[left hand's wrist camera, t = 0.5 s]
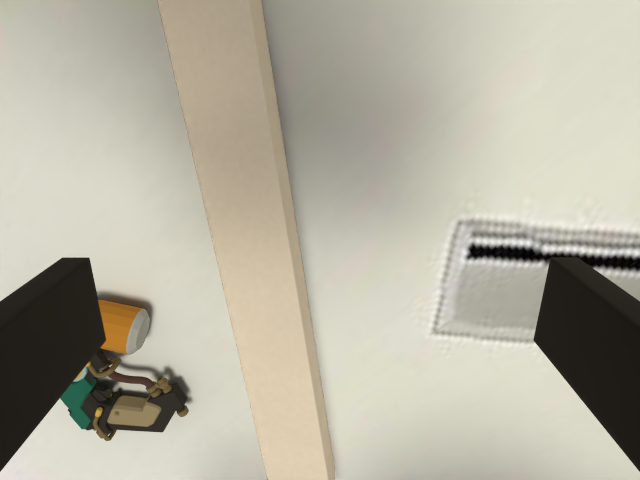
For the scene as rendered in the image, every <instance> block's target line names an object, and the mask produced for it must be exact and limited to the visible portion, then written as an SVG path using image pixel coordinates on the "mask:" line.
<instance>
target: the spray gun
mask: <svg viewBox="0 0 640 480" xmlns="http://www.w3.org/2000/svg"><path fill="white" fill-rule="evenodd" d="M98 302H99V307H100V312H101V316H102V321H103V326H104V331H105V336H106V341H105V343H104V344H103V345H102V346H101V349H106V350H110V351H114V352H118V353H123V354H127V355H129V354H133V353H134V352H135V351H137V350H138V349H140V348H141V347H142V345H143V343H144V341H145V338H146V336H147V332H148V329H149V324H150V317H149V315H148V313H147V311H146V310H145V309H143V308H138V307H133V306H129V305H124V304H119V303H115V302H110V301H105V300H98ZM120 361H121V359H120V358H117V357H116V358H113V359H111V360H108V359H107V358H106V357H105V355H104V354H103V353H102V351H101V350H100V349H99V350H98V351H97V353H96V354H95V355H94V356H93V357H92V359H91V360H90V361H89V362H88V364H87V365H86V366H85V367H84V369H83V370H82V371H81V372H80V374H79V375H78V376H77V377H76V379H75V380H74V381H73V382H72V383H71V385H70V386H69V387H68V388H67V390H66V391H65V392H64V393H63V395H62V396H61V397H60V399H61V400H62V401H63V402H64V403H65V405H66V406H67V407H68V408H69V409H68V411H69V412H70V416H71V417H72V418H73V419H74V421H75V422H76V423H77V424H78V425H79V426H80V428H81V429H86V430H91V429H93V430H94V431H95V430H97V434H98V436H99V437H100V438H104V439H105V440H106V441H109V440H111V439H112V437H113V436H114V434H115V432H116V430H131V431H149V432H163V431H164V430H165V428H166V426H167V424H168V423H169V421H170V419H171V417H172V416H173V414H174V412H175V411H177V414H178V415H179V416H180V417H184V416H185V415H187V413H188V411H189V410H188V408H187V406H185V405H184V404H185V402H186V400H187V397H186V395H185V394H184V393H183V391H182V390H181V388H180V387H179V385H178V384H177V383H176V384H173V385H169V382H168V380H167V379H166V378H164V377H163V376H162V377H160V378H158V380H157V383H156V382H153V381H151V380H150V379H148V378H146V377H139V376H127V375H123V374H120V373H117V372H115V371H114V370H115V369H116V368H117V367H118V365H119V363H120ZM111 364H113V365H112V366H111V367H109V365H111ZM98 370H102V371H103V372H101V373H99V372H98ZM106 376H108V377H110V378H112V379H114V380H116V381H119V382H125V383H134V384H143V385H145V386H146V389H147V391H148V392H149V393H150V394H149V396H148V398H141V397H133V396H126V395H123V396H120V393H119V392H115V394H114V395H113V397H112V391H113V387H110V386H109V388H107V389H103V388H100V387H99V386H96V388H94V386H95V384H96V383H97V381H96V379H95V378H94V377H97V378H102V377H106ZM159 387H160V388H159ZM111 397H112V398H111ZM110 433H111V434H110ZM109 434H110V435H109ZM108 435H109V436H108Z"/></svg>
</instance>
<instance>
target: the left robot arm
mask: <svg viewBox="0 0 640 480" xmlns="http://www.w3.org/2000/svg"><path fill="white" fill-rule="evenodd" d="M105 341H106V336H105V331H104V326H103V321H102V316H101V312H100V307H99V302H98V297H97V292H96V288H95V283H94V278H93V273H92V268H91V264H90V259H89V258H61V259H60V260H58V261H57V262H56V263H54V264H53V265H51V266H50V267H48V268H47V269H46V270H44V271H43V272H41V273H40V274H39V275H37V276H36V277H34V278H33V279H31V280H30V281H29V282H27V283H26V284H24V285H23V286H22V287H20V288H19V289H17V290H16V291H14V292H13V293H12V294H10V295H9V296H7V297H6V298H5V299H3V300H2V301H0V471H1V470H2V469H3V468H4V466H5V465H6V464H7V463H8V461H9V460H10V459H11V458H12V456H13V455H14V454H15V453H16V452H17V450H18V449H19V448H20V447H21V445H22V444H23V443H24V442H25V440H26V439H27V438H28V437H29V435H30V434H31V433H32V432H33V430H34V429H35V428H36V427H37V426H38V424H39V423H40V422H41V421H42V419H43V418H44V417H45V416H46V414H47V413H48V412H49V411H50V409H51V408H52V407H53V406H54V404H55V403H56V402H57V401H58V400H59V398H60V397H61V396H62V395H63V393H64V392H65V391H66V390H67V388H68V387H69V386H70V385H71V383H72V382H73V381H74V380H75V379H76V377H77V376H78V375H79V374H80V372H81V371H82V370H83V369H84V367H85V366H86V365H87V364H88V362H89V361H90V360H91V359H92V357H93V356H94V355H95V354H96V353H97V351H98V350H99V349H100V348H101V346H102V345H103V344H104V343H105ZM534 341H535V343H536V344H537V345H538V346H539V348H540V349H541V350H542V351H543V353H544V354H545V355H546V356H547V357H548V359H549V360H550V361H551V362H552V364H553V365H554V366H555V367H556V369H557V370H558V371H559V372H560V374H561V375H562V376H563V377H564V379H565V380H566V381H567V382H568V383H569V385H570V386H571V387H572V388H573V390H574V391H575V392H576V393H577V395H578V396H579V397H580V398H581V400H582V401H583V402H584V403H585V404H586V406H587V407H588V408H589V409H590V411H591V412H592V413H593V414H594V416H595V417H596V418H597V419H598V421H599V422H600V423H601V424H602V426H603V427H604V428H605V429H606V430H607V432H608V433H609V434H610V435H611V437H612V438H613V439H614V440H615V442H616V443H617V444H618V445H619V447H620V448H621V449H622V450H623V452H624V453H625V454H626V455H627V456H628V458H629V459H630V460H631V461H632V463H633V464H634V465H635V466H636V468H637V469H638V470H639V471H640V301H638V300H637V299H635V298H634V297H633V296H631V295H630V294H628V293H627V292H626V291H624V290H623V289H621V288H620V287H618V286H617V285H616V284H614V283H613V282H611V281H610V280H609V279H607V278H606V277H604V276H603V275H601V274H600V273H599V272H597V271H596V270H594V269H593V268H592V267H590V266H589V265H587V264H586V263H584V262H583V261H582V260H580V259H579V258H551V259H550V264H549V268H548V273H547V278H546V283H545V288H544V292H543V297H542V302H541V307H540V312H539V316H538V321H537V326H536V331H535V336H534Z"/></svg>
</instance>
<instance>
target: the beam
mask: <svg viewBox="0 0 640 480" xmlns="http://www.w3.org/2000/svg"><path fill="white" fill-rule="evenodd" d="M157 2H158V6H159V11H160V15H161V19H162V24H163V28H164V32H165V37H166V41H167V45H168V50H169V54H170V58H171V63H172V67H173V71H174V76H175V80H176V84H177V89H178V93H179V97H180V102H181V106H182V110H183V115H184V119H185V124H186V128H187V132H188V137H189V141H190V145H191V150H192V154H193V158H194V163H195V167H196V171H197V176H198V180H199V184H200V189H201V193H202V197H203V202H204V206H205V210H206V215H207V219H208V223H209V228H210V232H211V236H212V241H213V245H214V249H215V254H216V258H217V262H218V267H219V271H220V275H221V280H222V284H223V289H224V293H225V297H226V302H227V306H228V310H229V315H230V319H231V323H232V328H233V332H234V336H235V341H236V345H237V349H238V354H239V358H240V362H241V367H242V371H243V375H244V380H245V384H246V388H247V393H248V397H249V401H250V406H251V410H252V414H253V419H254V423H255V427H256V432H257V436H258V441H259V445H260V449H261V454H262V458H263V462H264V467H265V471H266V475H267V480H335V468H334V461H333V455H332V449H331V442H330V436H329V430H328V423H327V417H326V410H325V404H324V398H323V391H322V385H321V379H320V372H319V366H318V359H317V353H316V347H315V340H314V334H313V328H312V321H311V315H310V308H309V302H308V296H307V289H306V283H305V276H304V270H303V264H302V257H301V251H300V245H299V238H298V232H297V225H296V219H295V213H294V206H293V200H292V194H291V187H290V181H289V174H288V168H287V162H286V155H285V149H284V143H283V136H282V130H281V123H280V117H279V111H278V104H277V98H276V92H275V85H274V79H273V72H272V66H271V60H270V53H269V47H268V40H267V34H266V28H265V21H264V15H263V9H262V2H261V0H157Z"/></svg>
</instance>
